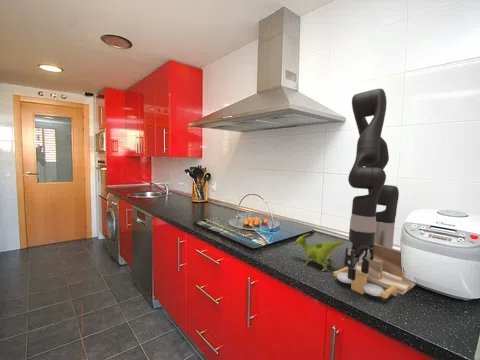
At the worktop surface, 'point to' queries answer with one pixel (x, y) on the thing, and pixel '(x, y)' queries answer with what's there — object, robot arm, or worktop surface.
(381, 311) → the worktop surface
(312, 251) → the toy
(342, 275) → the glasses
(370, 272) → the display stand
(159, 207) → the worktop surface
